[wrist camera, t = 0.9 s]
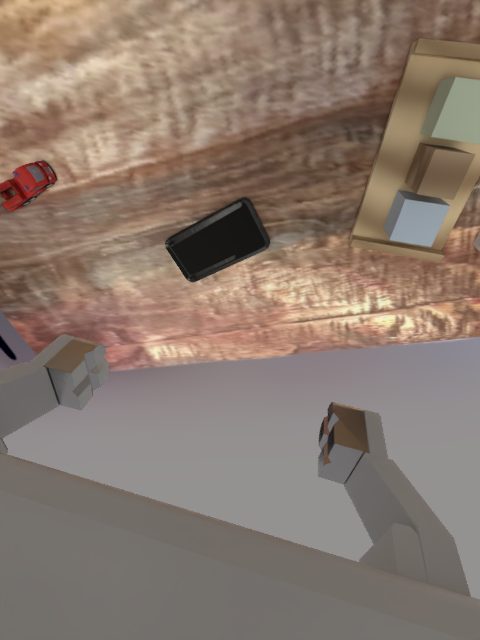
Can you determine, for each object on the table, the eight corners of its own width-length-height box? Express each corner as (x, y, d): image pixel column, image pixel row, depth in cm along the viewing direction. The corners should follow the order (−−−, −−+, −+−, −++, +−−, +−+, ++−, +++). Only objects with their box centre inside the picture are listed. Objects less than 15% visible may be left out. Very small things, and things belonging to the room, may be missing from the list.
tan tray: (410, 43, 31) (433, 28, 25) (530, 56, 30) (586, 43, 24) (348, 237, 43) (353, 260, 36) (432, 252, 42) (452, 279, 35)
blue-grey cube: (397, 190, 37) (405, 199, 33) (437, 195, 36) (450, 205, 33) (383, 227, 39) (389, 240, 36) (421, 233, 39) (431, 247, 35)
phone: (162, 242, 48) (245, 195, 41) (165, 239, 49) (247, 193, 42) (190, 284, 51) (272, 247, 45) (192, 281, 52) (273, 245, 45)
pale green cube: (440, 80, 31) (455, 77, 27) (488, 87, 30) (511, 84, 27) (419, 133, 33) (431, 136, 30) (464, 140, 33) (481, 144, 29)
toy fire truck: (61, 179, 47) (8, 194, 39) (10, 217, 53) (-45, 237, 45) (45, 156, 45) (-13, 167, 38) (-5, 198, 51) (-65, 215, 43)
